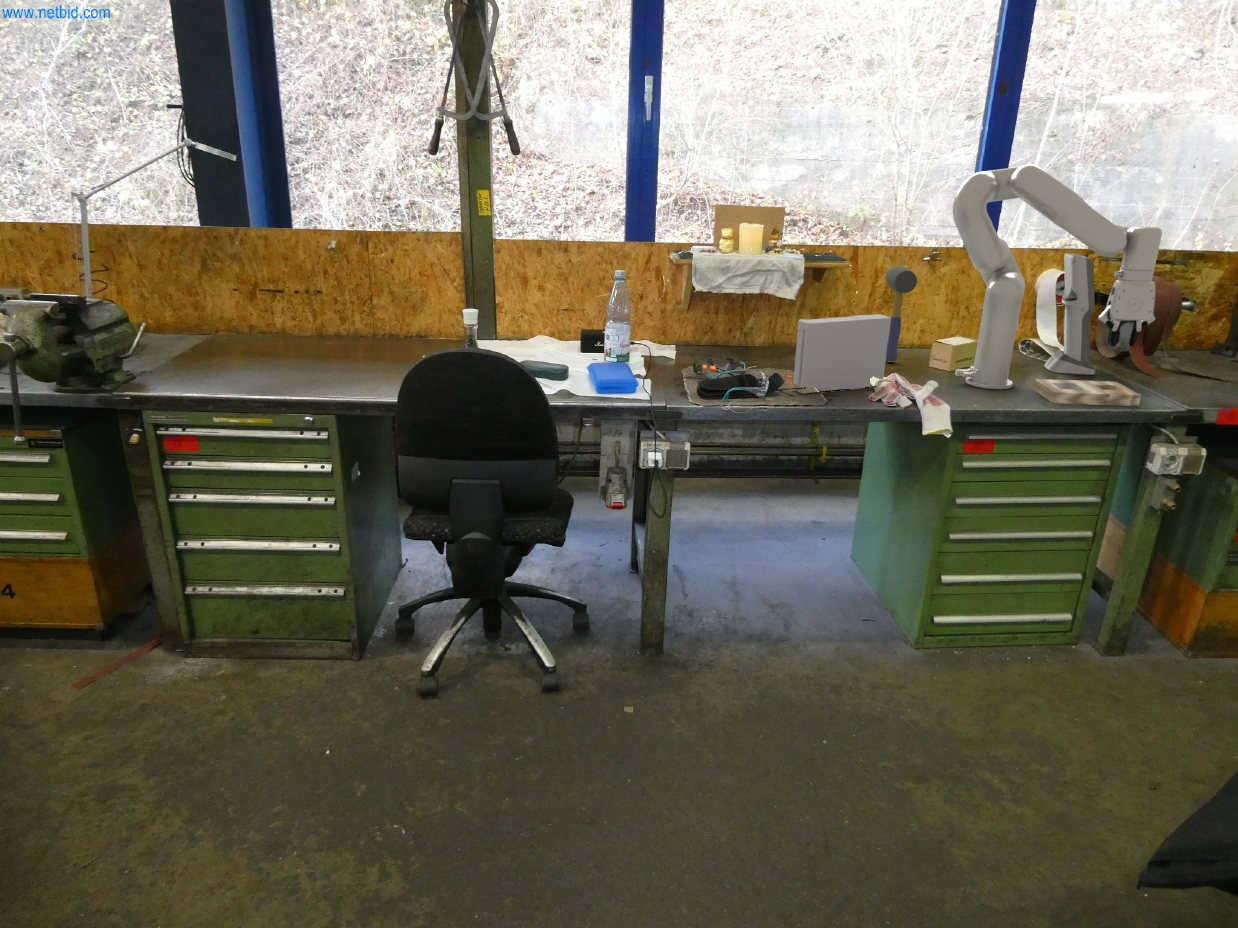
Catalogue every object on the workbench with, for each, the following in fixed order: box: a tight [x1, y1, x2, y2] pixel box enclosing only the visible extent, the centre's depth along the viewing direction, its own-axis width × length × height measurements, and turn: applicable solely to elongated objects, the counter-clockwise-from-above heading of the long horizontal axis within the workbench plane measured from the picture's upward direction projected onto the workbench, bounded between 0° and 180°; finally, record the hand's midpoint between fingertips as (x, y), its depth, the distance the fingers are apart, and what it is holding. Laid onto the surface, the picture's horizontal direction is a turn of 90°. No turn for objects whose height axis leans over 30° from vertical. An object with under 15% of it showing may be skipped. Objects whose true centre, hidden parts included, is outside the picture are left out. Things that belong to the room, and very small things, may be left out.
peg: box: [1110, 320, 1135, 352], centre depth 215 cm, size 4×4×9 cm
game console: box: [792, 313, 892, 391], centre depth 226 cm, size 6×27×20 cm, turn 111°
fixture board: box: [1032, 378, 1142, 407], centre depth 222 cm, size 22×14×3 cm, turn 84°
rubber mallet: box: [885, 265, 918, 362], centre depth 254 cm, size 12×8×30 cm, turn 176°
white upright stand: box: [1043, 252, 1096, 376], centre depth 245 cm, size 12×13×35 cm
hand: (1120, 344), depth 216 cm, fingers closed on peg, 4 cm apart
